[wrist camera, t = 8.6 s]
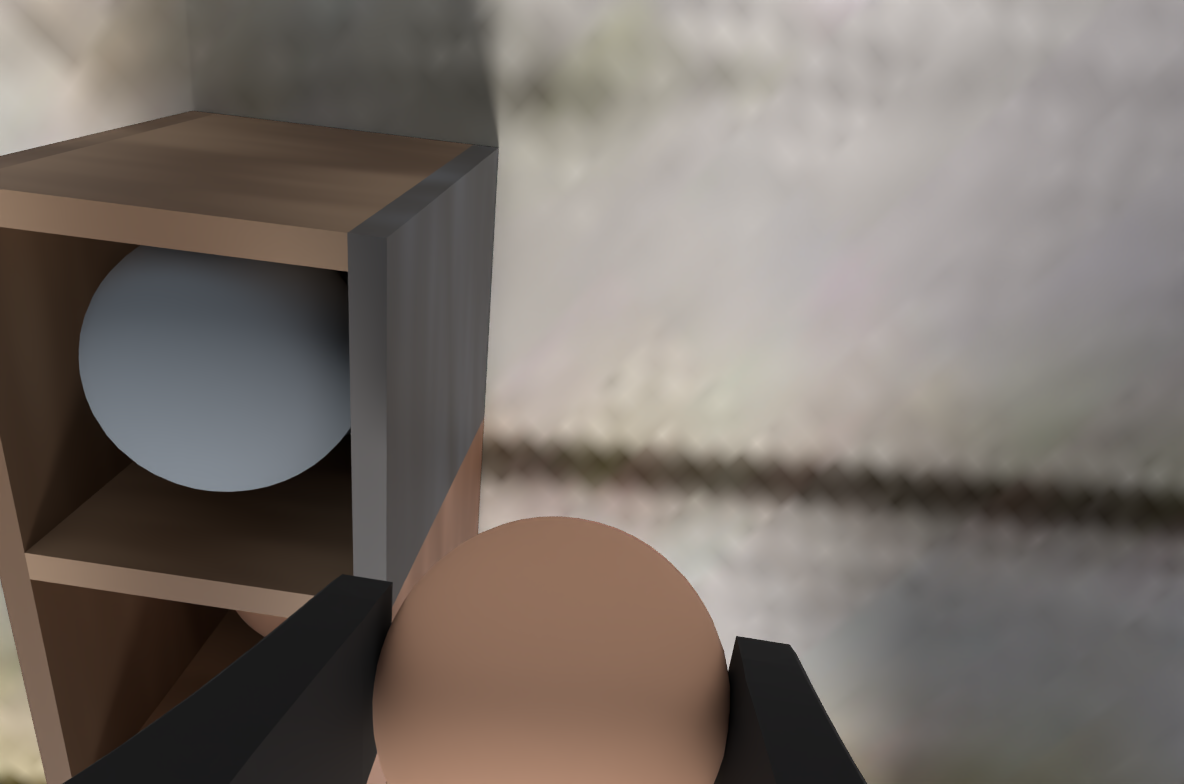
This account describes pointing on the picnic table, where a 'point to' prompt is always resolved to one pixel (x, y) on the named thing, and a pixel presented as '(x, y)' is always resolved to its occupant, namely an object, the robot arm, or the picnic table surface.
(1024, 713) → the picnic table surface
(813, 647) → the picnic table surface
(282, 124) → the divided wooden sorting box
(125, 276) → the charcoal ball
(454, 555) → the terracotta ball
